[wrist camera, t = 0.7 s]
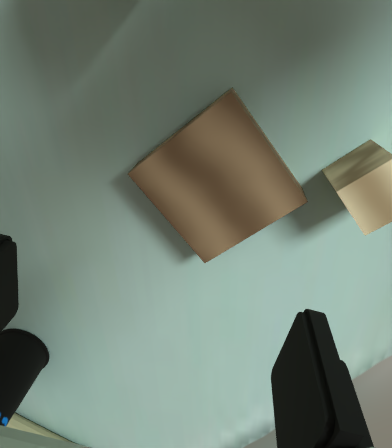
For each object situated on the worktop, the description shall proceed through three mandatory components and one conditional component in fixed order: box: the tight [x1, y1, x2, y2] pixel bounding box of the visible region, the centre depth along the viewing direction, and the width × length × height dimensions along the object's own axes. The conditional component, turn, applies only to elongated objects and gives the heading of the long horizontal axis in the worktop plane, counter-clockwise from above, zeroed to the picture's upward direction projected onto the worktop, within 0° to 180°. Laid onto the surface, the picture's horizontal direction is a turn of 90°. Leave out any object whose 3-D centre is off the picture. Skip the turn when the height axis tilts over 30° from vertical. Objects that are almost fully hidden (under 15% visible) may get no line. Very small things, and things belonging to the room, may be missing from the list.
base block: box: [128, 88, 308, 263], centre depth 34 cm, size 12×12×4 cm
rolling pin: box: [6, 413, 73, 443], centre depth 57 cm, size 32×6×5 cm, turn 52°
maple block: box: [322, 139, 392, 235], centre depth 32 cm, size 5×5×6 cm
